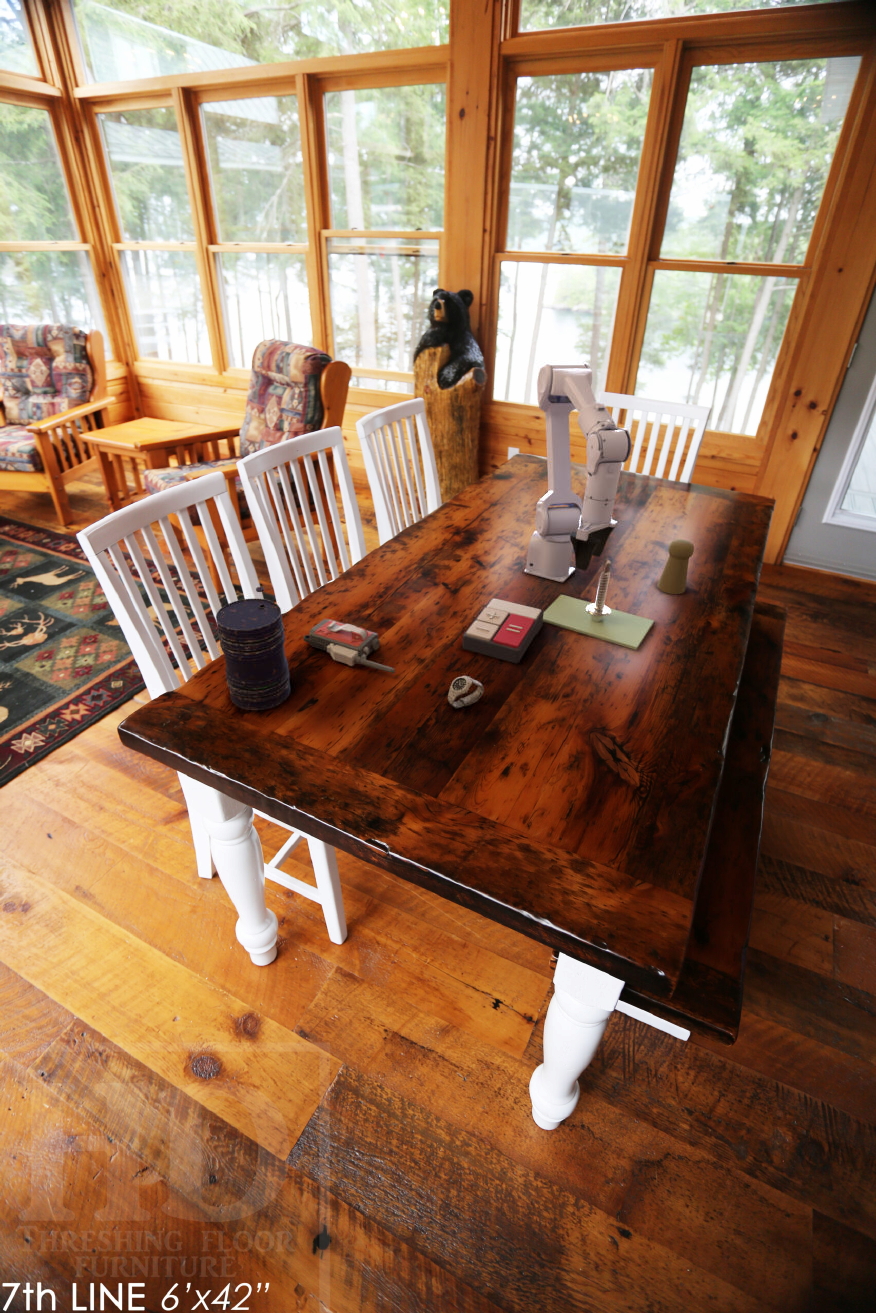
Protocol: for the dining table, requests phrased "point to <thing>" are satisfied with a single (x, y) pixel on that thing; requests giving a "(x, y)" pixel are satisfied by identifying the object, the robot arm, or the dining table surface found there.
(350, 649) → the walkie-talkie
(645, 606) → the dining table surface
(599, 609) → the screw
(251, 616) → the dark blue cylinder
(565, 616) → the mat
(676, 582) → the olive pawn
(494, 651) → the calculator
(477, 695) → the wristwatch
